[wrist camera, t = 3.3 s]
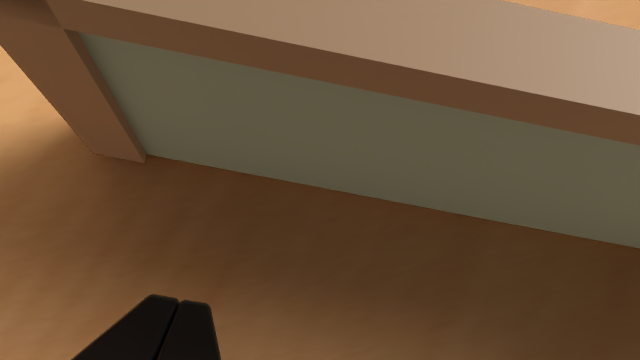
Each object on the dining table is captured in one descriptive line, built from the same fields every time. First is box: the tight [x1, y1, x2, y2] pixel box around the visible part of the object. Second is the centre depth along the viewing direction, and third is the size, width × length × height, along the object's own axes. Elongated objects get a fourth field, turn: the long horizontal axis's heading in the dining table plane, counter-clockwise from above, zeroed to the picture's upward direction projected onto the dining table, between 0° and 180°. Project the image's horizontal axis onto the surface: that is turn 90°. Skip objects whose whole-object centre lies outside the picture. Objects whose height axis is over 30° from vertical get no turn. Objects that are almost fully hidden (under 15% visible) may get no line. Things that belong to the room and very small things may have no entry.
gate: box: [0, 0, 640, 249], centre depth 15 cm, size 21×2×10 cm, turn 80°
